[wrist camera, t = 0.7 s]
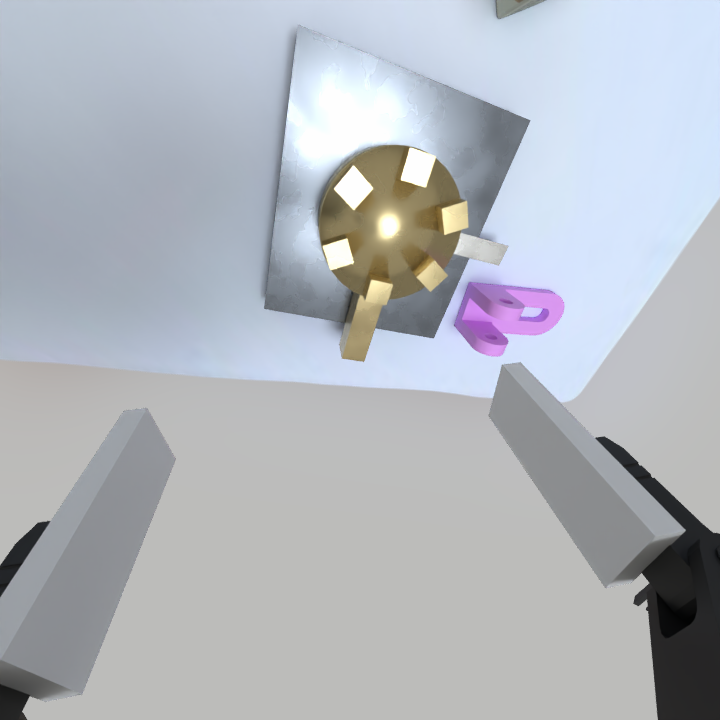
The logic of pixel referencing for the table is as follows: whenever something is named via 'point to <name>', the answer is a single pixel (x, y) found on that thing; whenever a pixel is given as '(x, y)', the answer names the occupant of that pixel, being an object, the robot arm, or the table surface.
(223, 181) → the table surface
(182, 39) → the table surface
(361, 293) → the brass notched disc handle
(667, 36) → the table surface
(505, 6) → the skincare box
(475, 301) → the bracket
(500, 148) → the base plate
